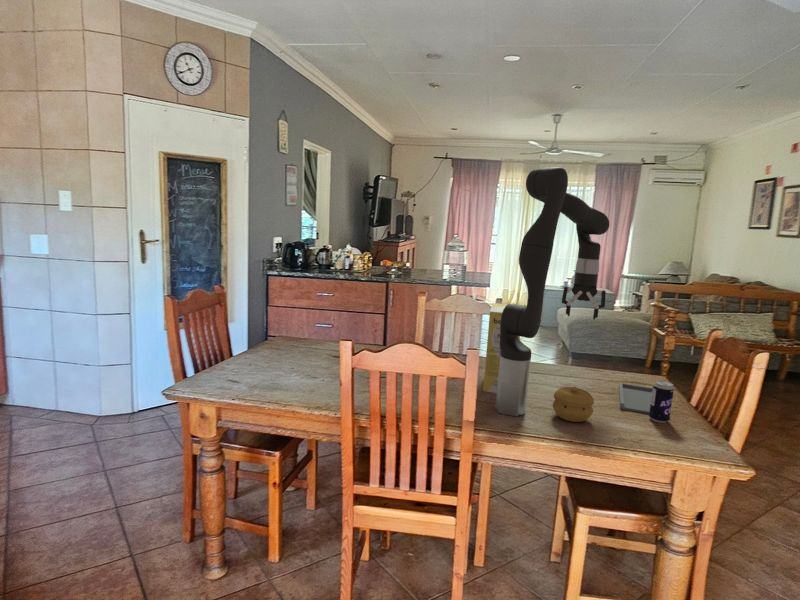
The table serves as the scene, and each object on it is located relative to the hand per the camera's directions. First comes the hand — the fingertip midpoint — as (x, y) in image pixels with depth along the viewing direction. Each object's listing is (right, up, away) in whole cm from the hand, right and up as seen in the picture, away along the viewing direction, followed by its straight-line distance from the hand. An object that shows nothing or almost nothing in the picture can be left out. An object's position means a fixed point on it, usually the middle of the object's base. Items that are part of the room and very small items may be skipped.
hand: (581, 317), depth 178 cm
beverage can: (+16, -31, -22) cm, 41 cm away
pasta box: (-28, -25, +4) cm, 38 cm away
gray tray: (+19, -29, -5) cm, 35 cm away
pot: (-12, -30, -24) cm, 40 cm away
